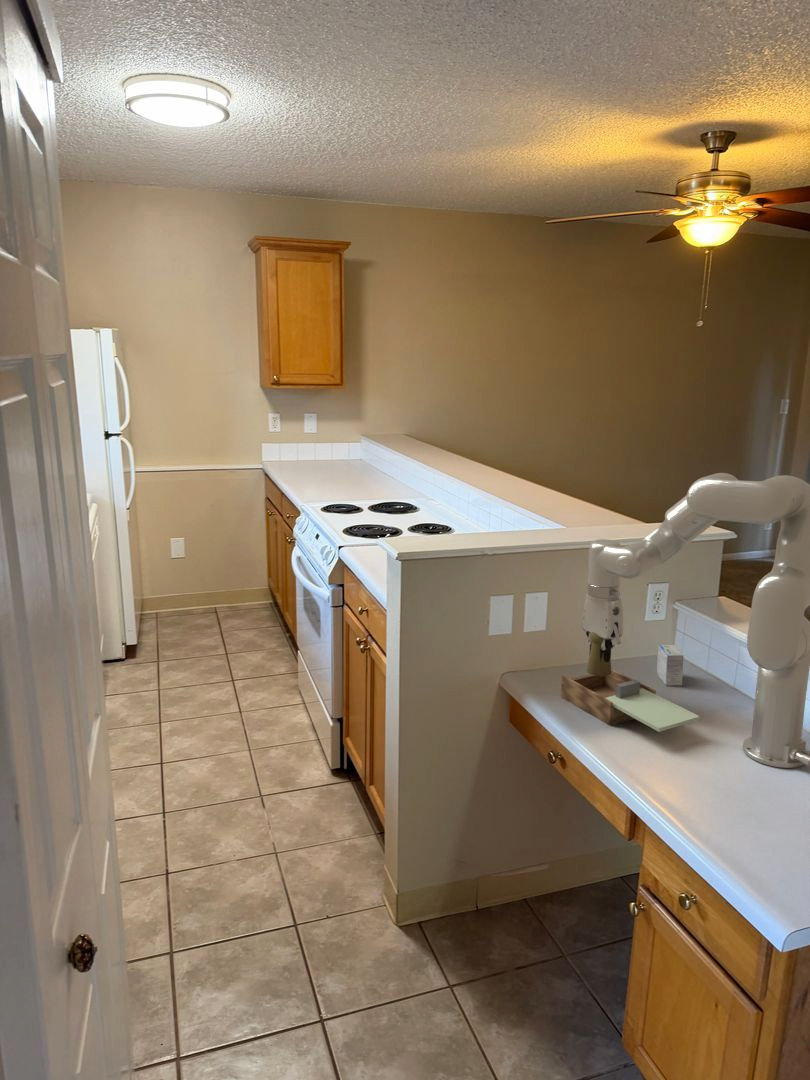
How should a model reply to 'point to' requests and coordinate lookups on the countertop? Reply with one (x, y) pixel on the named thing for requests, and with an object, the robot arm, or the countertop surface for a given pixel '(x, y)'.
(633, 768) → the countertop surface
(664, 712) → the lid
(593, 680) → the wooden drawer box
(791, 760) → the robot arm
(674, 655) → the medicine box
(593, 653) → the cork
